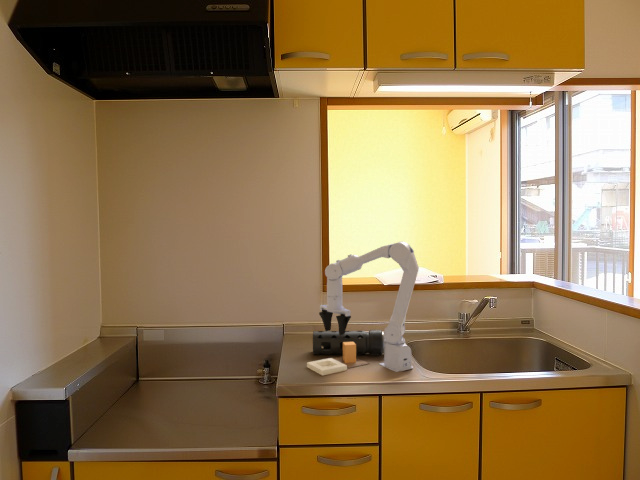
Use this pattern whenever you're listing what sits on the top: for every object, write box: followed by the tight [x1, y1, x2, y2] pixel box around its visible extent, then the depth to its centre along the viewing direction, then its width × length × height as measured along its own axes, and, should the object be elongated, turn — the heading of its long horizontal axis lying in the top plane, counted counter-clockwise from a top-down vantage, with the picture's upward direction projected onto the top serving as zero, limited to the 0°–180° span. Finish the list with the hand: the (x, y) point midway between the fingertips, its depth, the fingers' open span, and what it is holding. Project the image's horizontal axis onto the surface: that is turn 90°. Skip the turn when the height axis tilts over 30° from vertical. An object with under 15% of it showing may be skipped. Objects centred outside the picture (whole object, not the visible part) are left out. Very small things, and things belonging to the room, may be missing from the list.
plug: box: [342, 342, 357, 363], centre depth 165 cm, size 4×4×6 cm
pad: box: [331, 355, 370, 369], centre depth 165 cm, size 12×9×1 cm
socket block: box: [306, 357, 348, 376], centre depth 158 cm, size 10×10×2 cm
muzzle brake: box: [312, 329, 385, 356], centre depth 175 cm, size 10×28×10 cm
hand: (334, 332), depth 167 cm, fingers open, 7 cm apart
